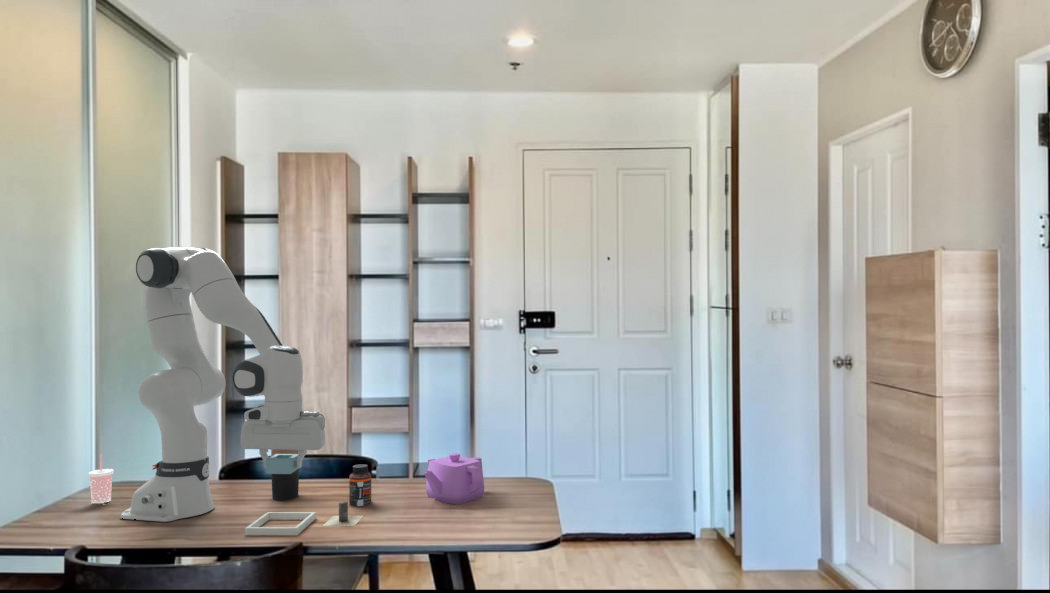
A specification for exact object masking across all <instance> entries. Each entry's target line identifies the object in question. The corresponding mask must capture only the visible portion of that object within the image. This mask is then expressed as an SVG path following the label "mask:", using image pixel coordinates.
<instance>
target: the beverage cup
mask: <svg viewBox="0 0 1050 593" xmlns="http://www.w3.org/2000/svg"><path fill="white" fill-rule="evenodd" d="M99 460H100V462H99V468H100V469H95V470H91V471H89V472H88V477H89V485H90V496H91V497H90V499H91V504H92V503H104V502H109V501H111V500H112V491H113V490H112V488H113V487H112V486H113V485H112V484H113V483H112V482H113V474H114V469H113V468H103V453H99ZM111 502H112V501H111Z"/></svg>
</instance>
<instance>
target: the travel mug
mask: <svg viewBox="0 0 1050 593" xmlns="http://www.w3.org/2000/svg"><path fill="white" fill-rule="evenodd" d="M275 454H298V450H271V449H270V457H271V456H273V455H275ZM270 475H271V494H272V495H271V497H272V499H273V500H274V501H286V500H287V501H288V500H292V499H295V498H298V496H299V489H300V488H299V480H300V478H299V477H300V468H299V469H297V470H296V471H294V472H293V473H291V474H270Z"/></svg>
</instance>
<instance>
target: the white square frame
mask: <svg viewBox="0 0 1050 593" xmlns="http://www.w3.org/2000/svg"><path fill="white" fill-rule="evenodd" d="M271 520H275V521H276V520H278V521H279V520H281V521H282V520H285V521H287V520H300V522H299V523H298V524H297V525H296V526H283V527H282V526H265V527H264V526H263V525H264V524H265V523H267V522H268V521H271ZM301 520H302V521H301ZM315 520H317V512H316V511H284V512H283V511H267V512H266V513H264V514H263V515H261V516H260V517H259V518H257V519H255V521H253V522H252V523H250V524H249V525H248V526H246V527H245V528H244V536H298V535H299V534H301V533H302V532H303V531H304V530H305V529H306V528H307V527H308V526H309V525H310V524H312V523H313V522H314V521H315Z"/></svg>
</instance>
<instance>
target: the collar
mask: <svg viewBox="0 0 1050 593" xmlns="http://www.w3.org/2000/svg"><path fill="white" fill-rule="evenodd" d="M300 455H301V454H275V455H273V456H271V455H270V457H269V456H268V457H269V458H268V459H266V467H265V475H266V474H268V475H271V474H291V473H293V472H294V471H296V470H297V469H299V470H300V468H294V461H295V460H296V459H298V458H299V456H300Z"/></svg>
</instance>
